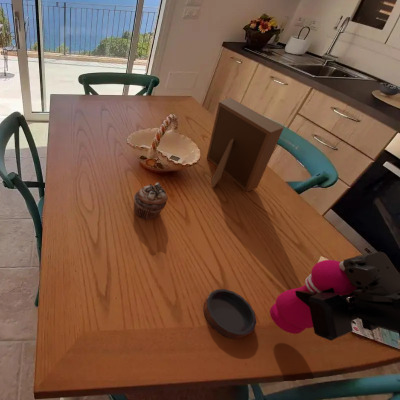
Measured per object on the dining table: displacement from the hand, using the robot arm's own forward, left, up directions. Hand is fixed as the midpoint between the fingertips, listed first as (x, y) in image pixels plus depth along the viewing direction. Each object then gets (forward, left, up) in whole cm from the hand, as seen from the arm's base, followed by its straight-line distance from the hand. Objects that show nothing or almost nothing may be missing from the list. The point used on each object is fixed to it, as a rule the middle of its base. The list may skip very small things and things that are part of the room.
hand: (306, 290), depth 51 cm
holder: (+5, +8, -14) cm, 17 cm away
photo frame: (+44, -33, -14) cm, 57 cm away
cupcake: (+40, +4, -14) cm, 43 cm away
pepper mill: (-2, 0, -10) cm, 10 cm away
